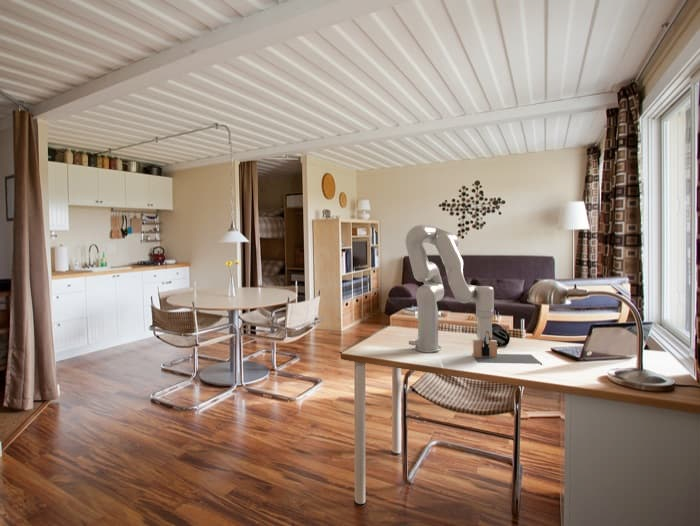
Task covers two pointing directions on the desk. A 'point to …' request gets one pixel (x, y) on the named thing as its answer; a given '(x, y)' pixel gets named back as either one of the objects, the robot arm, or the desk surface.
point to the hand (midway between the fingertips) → (484, 354)
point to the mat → (509, 359)
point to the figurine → (500, 335)
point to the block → (478, 346)
